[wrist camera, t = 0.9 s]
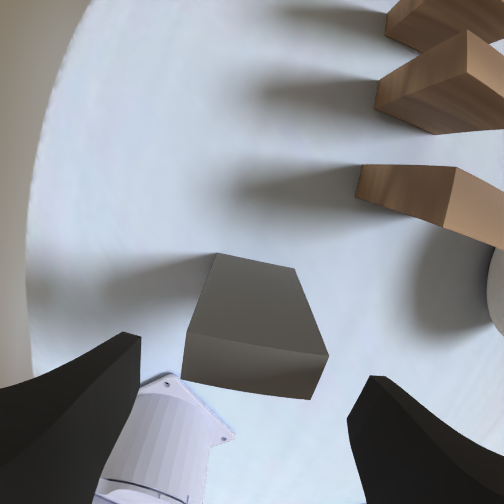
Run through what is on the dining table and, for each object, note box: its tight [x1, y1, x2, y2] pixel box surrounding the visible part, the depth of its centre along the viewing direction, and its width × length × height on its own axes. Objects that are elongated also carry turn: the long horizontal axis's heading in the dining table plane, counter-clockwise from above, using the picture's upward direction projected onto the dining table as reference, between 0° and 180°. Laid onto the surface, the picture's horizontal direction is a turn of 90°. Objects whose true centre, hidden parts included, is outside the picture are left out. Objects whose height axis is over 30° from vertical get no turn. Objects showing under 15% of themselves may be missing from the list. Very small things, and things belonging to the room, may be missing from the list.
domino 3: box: [374, 29, 504, 135], centre depth 11 cm, size 2×5×9 cm, turn 78°
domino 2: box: [385, 0, 504, 53], centre depth 10 cm, size 2×5×9 cm, turn 78°
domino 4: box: [355, 164, 504, 250], centre depth 12 cm, size 2×5×9 cm, turn 78°
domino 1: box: [181, 253, 329, 400], centre depth 14 cm, size 2×5×9 cm, turn 78°
